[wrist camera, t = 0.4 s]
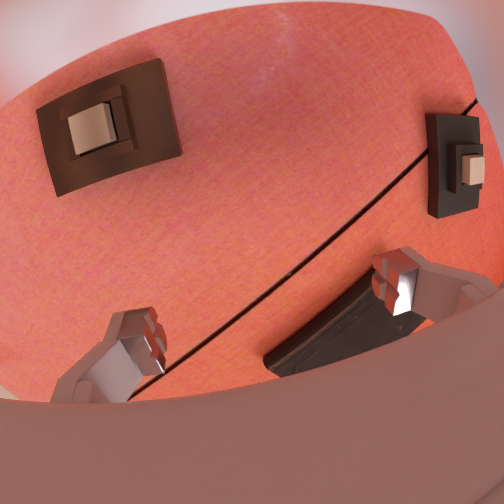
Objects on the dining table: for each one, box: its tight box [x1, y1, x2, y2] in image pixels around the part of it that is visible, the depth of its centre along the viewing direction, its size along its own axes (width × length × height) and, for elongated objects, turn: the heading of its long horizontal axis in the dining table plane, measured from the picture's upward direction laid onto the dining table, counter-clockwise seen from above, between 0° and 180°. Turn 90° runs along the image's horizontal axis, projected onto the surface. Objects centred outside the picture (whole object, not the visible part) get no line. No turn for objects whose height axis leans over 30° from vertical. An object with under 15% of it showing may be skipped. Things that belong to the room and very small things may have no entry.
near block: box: [36, 58, 183, 197], centre depth 23 cm, size 14×10×4 cm
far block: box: [425, 114, 483, 219], centre depth 30 cm, size 14×10×4 cm
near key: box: [68, 103, 117, 155], centre depth 20 cm, size 4×4×2 cm
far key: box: [462, 154, 485, 185], centre depth 28 cm, size 4×4×2 cm
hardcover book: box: [263, 268, 427, 378], centre depth 40 cm, size 16×23×2 cm
